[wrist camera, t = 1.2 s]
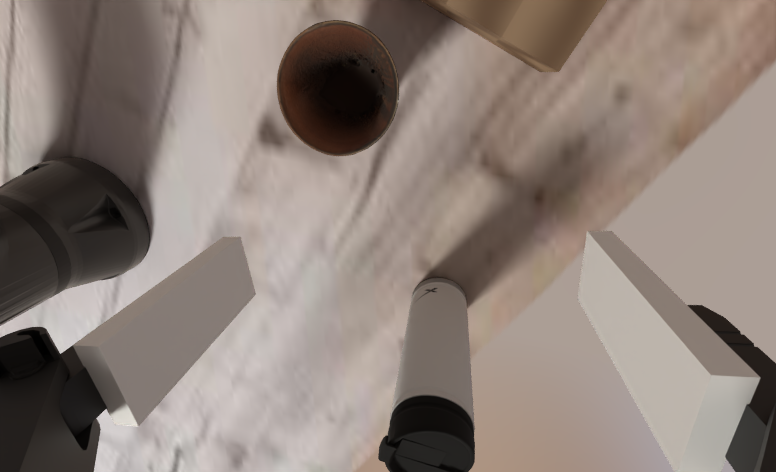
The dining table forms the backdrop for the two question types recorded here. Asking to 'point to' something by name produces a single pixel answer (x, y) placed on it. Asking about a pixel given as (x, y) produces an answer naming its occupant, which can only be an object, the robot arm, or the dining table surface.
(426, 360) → the travel mug
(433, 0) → the socket block
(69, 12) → the dining table surface
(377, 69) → the cup
